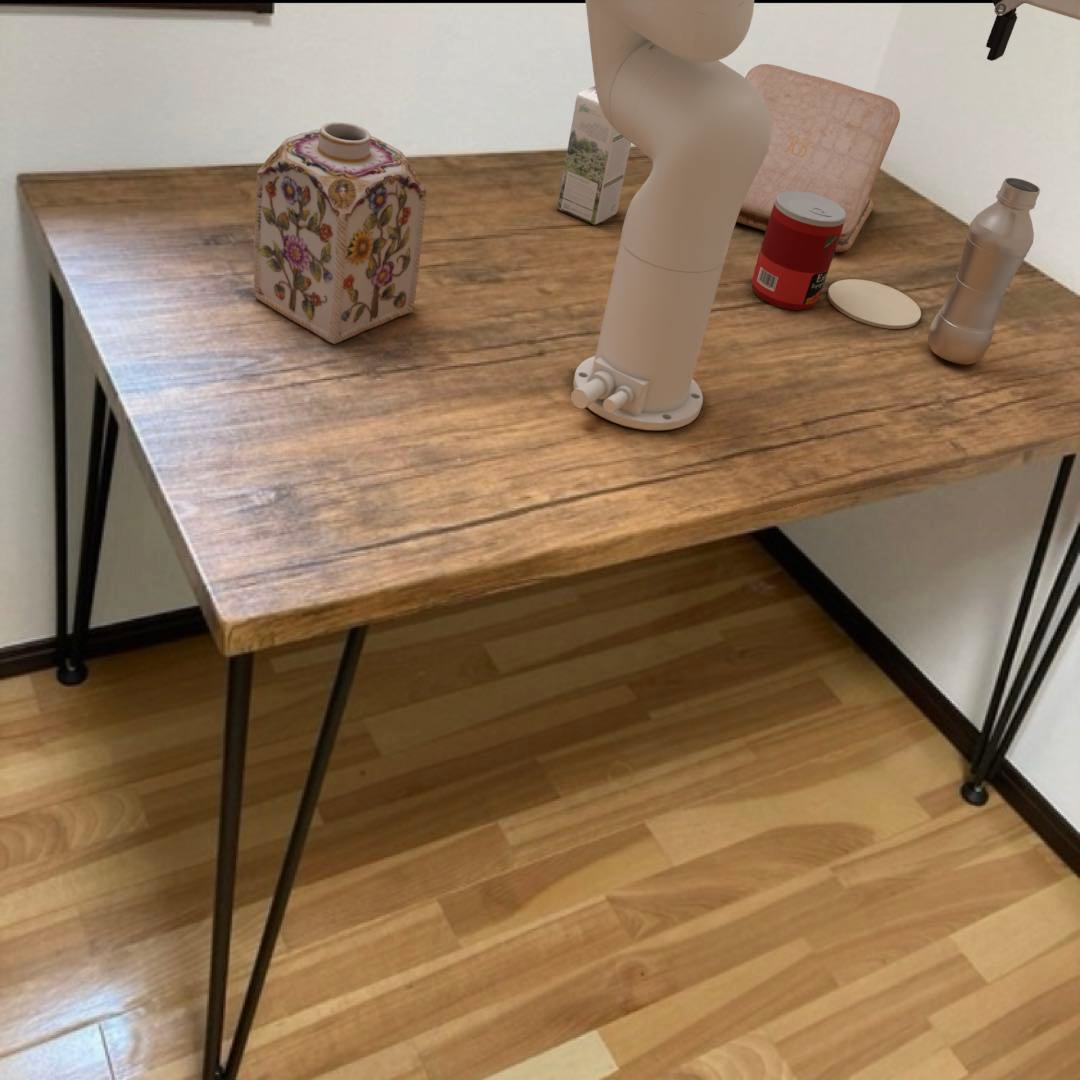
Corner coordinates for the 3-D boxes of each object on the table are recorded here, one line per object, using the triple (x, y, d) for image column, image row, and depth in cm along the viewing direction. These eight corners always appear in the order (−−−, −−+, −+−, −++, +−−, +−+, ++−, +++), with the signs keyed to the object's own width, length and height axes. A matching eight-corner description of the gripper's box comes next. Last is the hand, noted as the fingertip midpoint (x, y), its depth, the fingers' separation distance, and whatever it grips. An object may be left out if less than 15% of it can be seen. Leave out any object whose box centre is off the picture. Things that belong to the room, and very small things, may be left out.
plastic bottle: (971, 378, 135) (1047, 205, 123) (913, 354, 137) (981, 181, 125) (988, 358, 140) (1062, 188, 127) (931, 334, 142) (999, 166, 130)
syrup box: (618, 214, 154) (643, 97, 145) (593, 227, 150) (617, 108, 141) (579, 197, 156) (601, 82, 147) (554, 210, 152) (575, 91, 143)
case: (688, 212, 158) (720, 86, 148) (734, 164, 174) (765, 47, 164) (843, 263, 154) (885, 136, 144) (875, 209, 170) (916, 91, 160)
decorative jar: (249, 298, 123) (253, 119, 112) (334, 267, 131) (345, 98, 120) (335, 349, 118) (347, 167, 107) (418, 314, 126) (437, 141, 115)
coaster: (899, 339, 140) (900, 335, 139) (812, 301, 144) (813, 297, 143) (933, 309, 147) (934, 305, 147) (849, 273, 151) (850, 270, 151)
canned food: (816, 317, 140) (846, 227, 134) (747, 300, 141) (773, 209, 134) (818, 289, 147) (847, 201, 140) (752, 272, 147) (778, 184, 140)
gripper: (1013, -145, 110) (944, 52, 120) (1211, -93, 103) (1121, 111, 114) (1037, -150, 115) (969, 39, 125) (1228, -101, 109) (1139, 95, 119)
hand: (1041, 73), depth 120 cm, fingers open, 9 cm apart
